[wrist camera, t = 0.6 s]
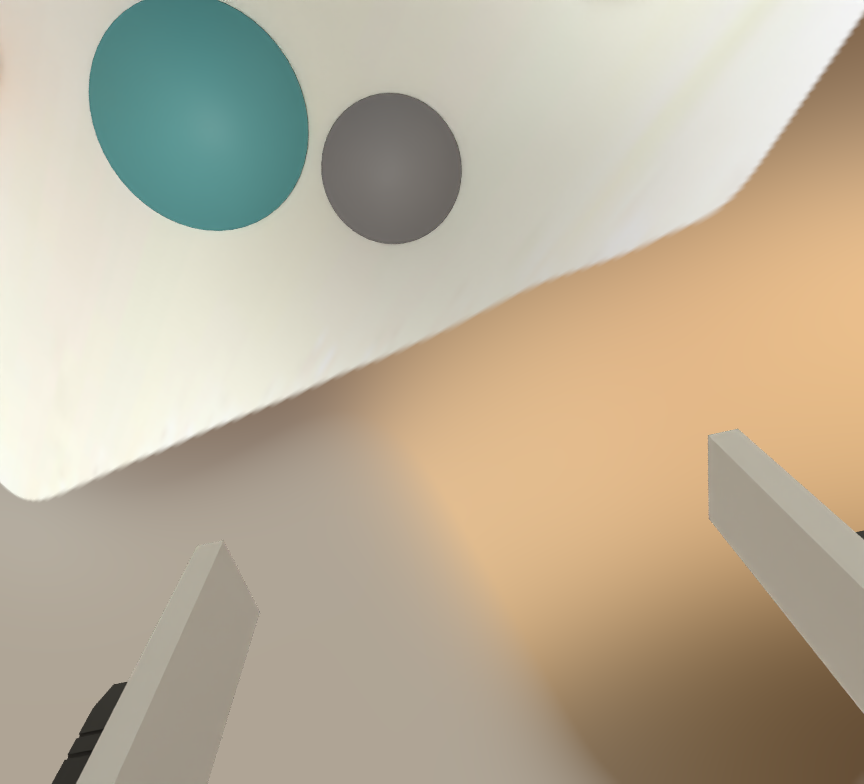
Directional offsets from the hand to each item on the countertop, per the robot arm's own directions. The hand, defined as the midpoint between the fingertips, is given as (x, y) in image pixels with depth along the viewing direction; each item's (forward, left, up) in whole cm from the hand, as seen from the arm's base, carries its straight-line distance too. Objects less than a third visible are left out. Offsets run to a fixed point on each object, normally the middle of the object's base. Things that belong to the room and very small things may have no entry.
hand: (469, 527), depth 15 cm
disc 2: (-8, 0, -26) cm, 27 cm away
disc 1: (-14, -11, -26) cm, 32 cm away
